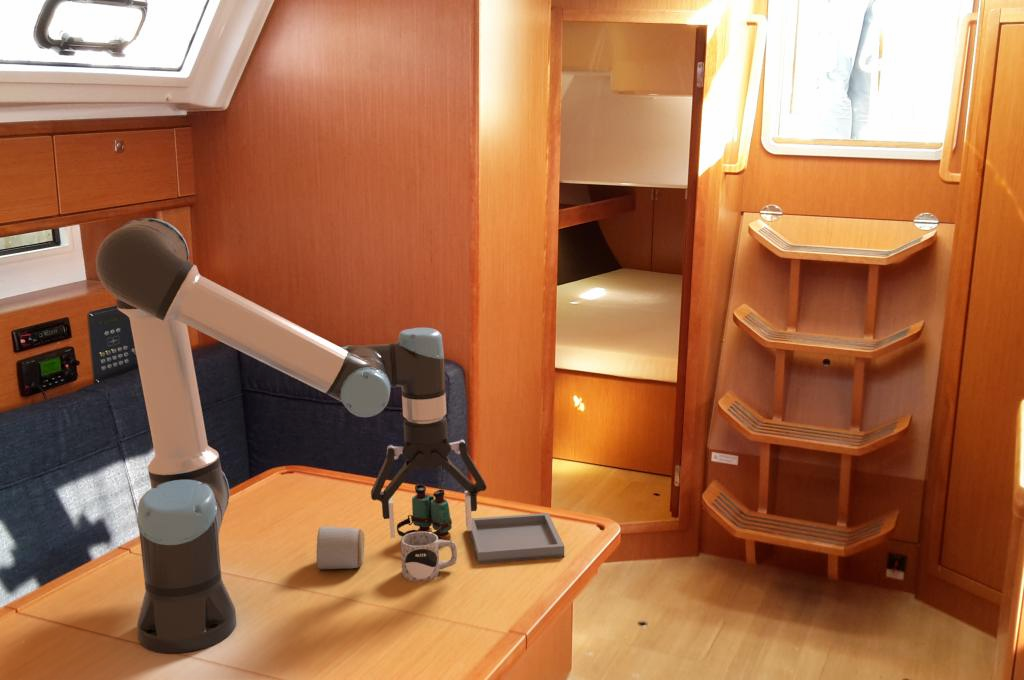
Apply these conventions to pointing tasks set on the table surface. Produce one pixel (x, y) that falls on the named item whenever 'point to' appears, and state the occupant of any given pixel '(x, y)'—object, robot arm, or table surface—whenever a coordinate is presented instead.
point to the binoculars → (429, 514)
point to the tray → (515, 538)
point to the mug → (424, 556)
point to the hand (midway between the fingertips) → (431, 531)
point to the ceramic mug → (339, 548)
